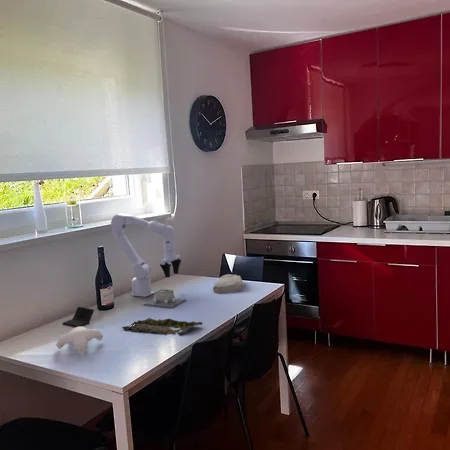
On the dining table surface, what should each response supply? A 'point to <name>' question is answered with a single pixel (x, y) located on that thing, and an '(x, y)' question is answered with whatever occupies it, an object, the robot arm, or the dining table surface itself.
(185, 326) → the miniature landscape
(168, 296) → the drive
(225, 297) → the dining table surface
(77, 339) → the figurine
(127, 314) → the dining table surface
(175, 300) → the grey knobbed plate
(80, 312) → the handheld gaming console
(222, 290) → the stone
